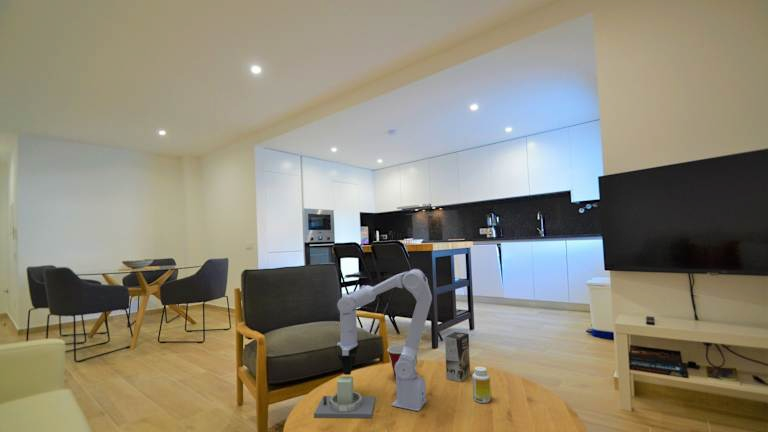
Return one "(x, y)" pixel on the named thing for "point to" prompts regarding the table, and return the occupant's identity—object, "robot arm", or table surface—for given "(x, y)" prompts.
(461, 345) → the coffee box
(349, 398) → the pale green rectangular block
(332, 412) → the base board
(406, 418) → the table surface
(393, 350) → the plastic cup
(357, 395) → the collar
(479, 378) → the supplement bottle
